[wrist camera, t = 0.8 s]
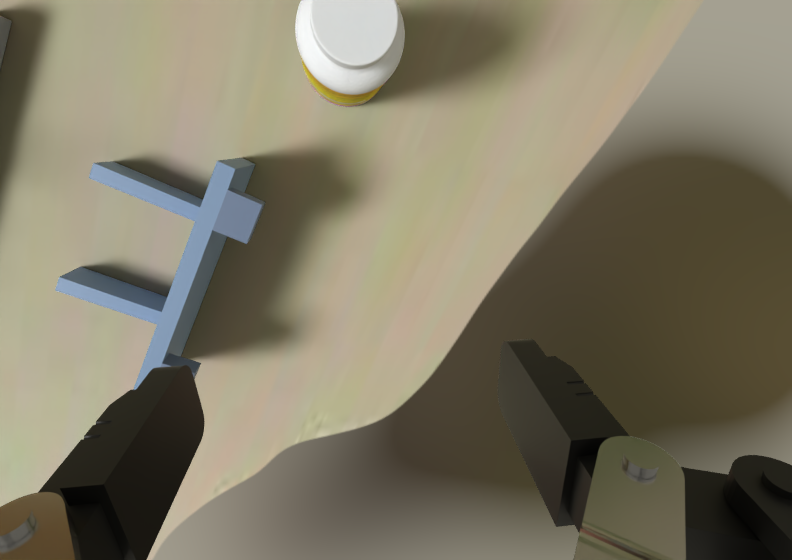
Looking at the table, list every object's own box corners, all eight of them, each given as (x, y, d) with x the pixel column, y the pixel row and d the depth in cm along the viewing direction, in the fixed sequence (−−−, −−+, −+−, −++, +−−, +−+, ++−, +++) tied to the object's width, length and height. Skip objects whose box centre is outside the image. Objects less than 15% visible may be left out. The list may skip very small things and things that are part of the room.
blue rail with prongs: (62, 324, 37) (-7, 370, 29) (130, 106, 32) (70, 94, 25) (204, 369, 40) (175, 421, 32) (282, 176, 36) (270, 184, 28)
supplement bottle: (379, 114, 35) (406, 97, 23) (300, 100, 34) (284, 74, 22) (391, 26, 33) (426, -42, 21) (307, 8, 32) (295, -75, 20)
